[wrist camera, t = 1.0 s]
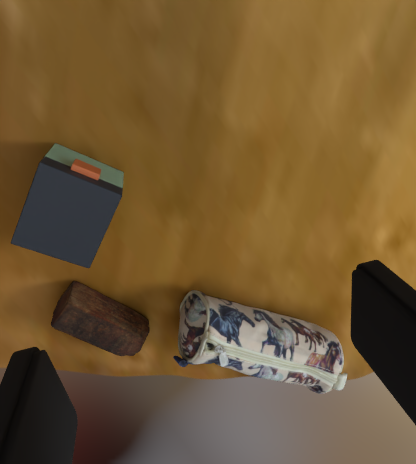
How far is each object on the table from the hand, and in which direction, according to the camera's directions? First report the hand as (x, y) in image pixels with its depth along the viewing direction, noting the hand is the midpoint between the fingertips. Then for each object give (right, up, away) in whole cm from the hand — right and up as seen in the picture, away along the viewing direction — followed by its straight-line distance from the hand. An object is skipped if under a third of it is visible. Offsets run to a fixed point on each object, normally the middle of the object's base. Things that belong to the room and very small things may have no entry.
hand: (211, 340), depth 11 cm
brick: (-13, -6, +34) cm, 37 cm away
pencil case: (+6, -9, +39) cm, 41 cm away
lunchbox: (-14, +7, +27) cm, 31 cm away
